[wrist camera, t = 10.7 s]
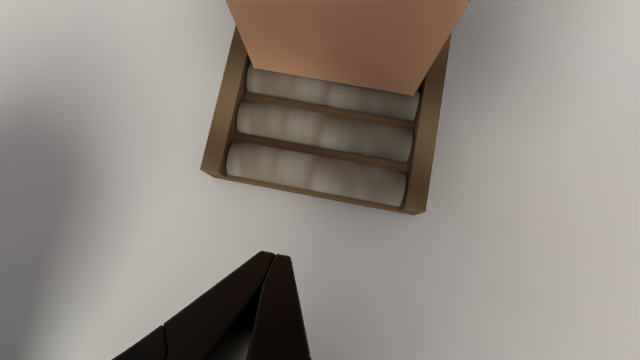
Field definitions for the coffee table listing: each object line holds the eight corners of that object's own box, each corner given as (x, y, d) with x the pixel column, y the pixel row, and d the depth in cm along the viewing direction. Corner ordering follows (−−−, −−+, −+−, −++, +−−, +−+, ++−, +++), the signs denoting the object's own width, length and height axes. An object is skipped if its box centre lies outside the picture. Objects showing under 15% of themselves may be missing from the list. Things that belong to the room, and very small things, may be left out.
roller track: (414, 215, 22) (446, 204, 16) (213, 177, 22) (173, 153, 16) (447, -6, 24) (486, -86, 18) (265, -35, 25) (246, -122, 19)
